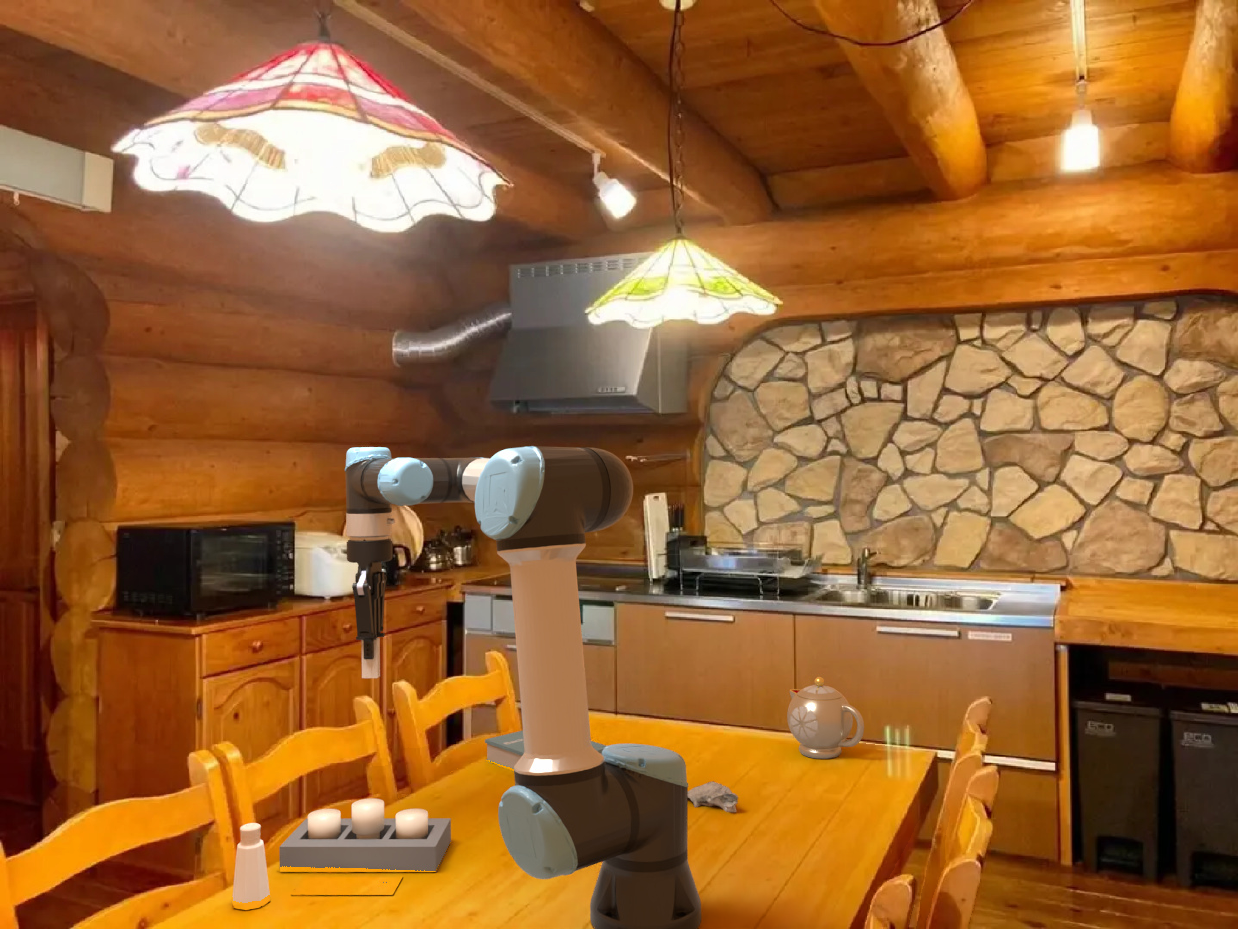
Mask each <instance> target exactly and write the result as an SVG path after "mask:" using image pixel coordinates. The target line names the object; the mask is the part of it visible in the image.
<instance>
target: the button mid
mask: <svg viewBox="0 0 1238 929" xmlns="http://www.w3.org/2000/svg"><path fill="white" fill-rule="evenodd" d="M384 818H385V801H384V800H383V799H380V798H373V797H372V798H364V799H359V800H356V801H354V802H352V804H351V819H352V832H353V833H355V834H356V836H357V839H380V831H382V830H383V829H384Z"/></svg>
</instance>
